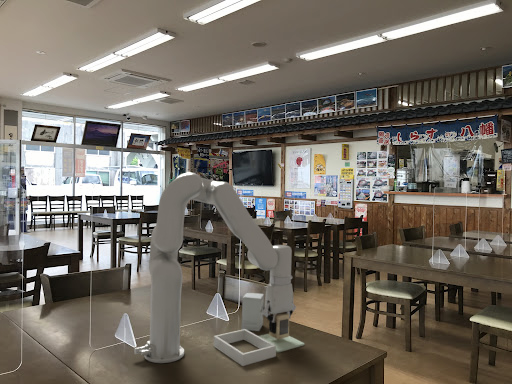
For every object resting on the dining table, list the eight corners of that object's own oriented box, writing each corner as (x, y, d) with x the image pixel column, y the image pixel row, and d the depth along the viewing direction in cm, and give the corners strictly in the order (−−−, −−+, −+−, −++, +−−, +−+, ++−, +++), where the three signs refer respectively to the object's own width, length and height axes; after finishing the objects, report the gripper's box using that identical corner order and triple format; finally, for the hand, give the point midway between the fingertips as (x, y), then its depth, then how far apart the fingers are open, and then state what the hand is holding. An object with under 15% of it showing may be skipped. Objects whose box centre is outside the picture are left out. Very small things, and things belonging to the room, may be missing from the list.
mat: (277, 352, 133) (277, 350, 133) (253, 338, 144) (253, 337, 144) (304, 345, 140) (304, 343, 140) (279, 332, 151) (279, 330, 151)
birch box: (269, 335, 142) (269, 312, 142) (279, 332, 145) (280, 310, 145) (278, 339, 138) (278, 316, 138) (289, 336, 141) (289, 314, 141)
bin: (242, 366, 122) (242, 354, 122) (213, 346, 137) (213, 335, 137) (275, 356, 130) (275, 345, 129) (244, 338, 144) (245, 328, 144)
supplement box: (259, 331, 152) (260, 298, 151) (241, 329, 153) (241, 297, 153) (263, 325, 159) (264, 293, 159) (245, 323, 160) (246, 292, 160)
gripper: (291, 275, 150) (290, 323, 150) (254, 280, 140) (253, 332, 140) (305, 279, 143) (303, 329, 144) (267, 285, 133) (266, 339, 134)
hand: (279, 330), depth 142 cm, fingers closed on birch box, 5 cm apart
